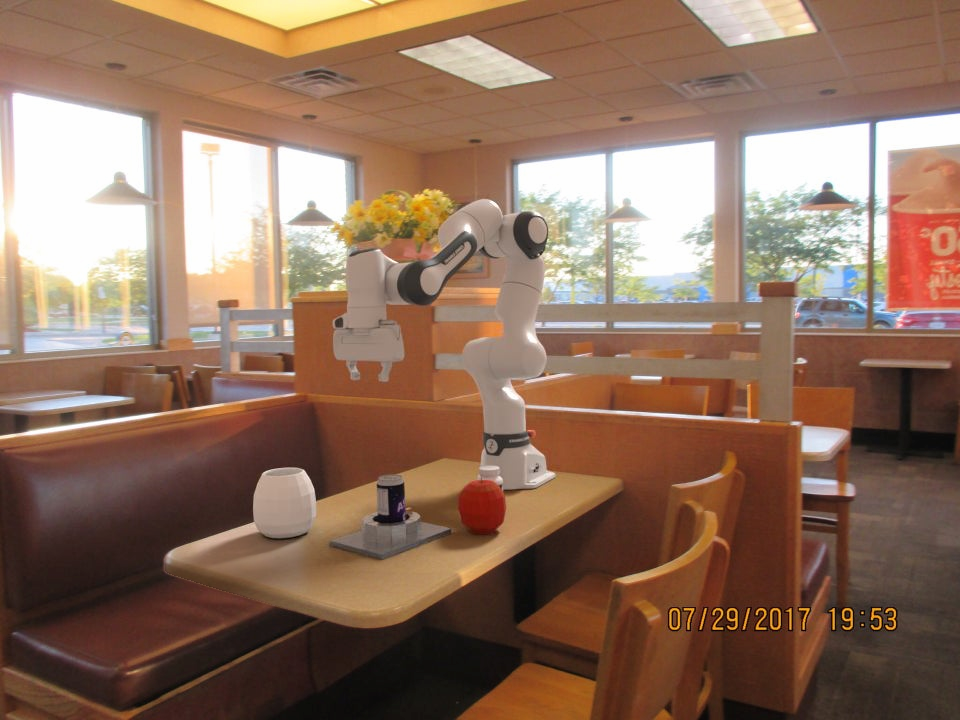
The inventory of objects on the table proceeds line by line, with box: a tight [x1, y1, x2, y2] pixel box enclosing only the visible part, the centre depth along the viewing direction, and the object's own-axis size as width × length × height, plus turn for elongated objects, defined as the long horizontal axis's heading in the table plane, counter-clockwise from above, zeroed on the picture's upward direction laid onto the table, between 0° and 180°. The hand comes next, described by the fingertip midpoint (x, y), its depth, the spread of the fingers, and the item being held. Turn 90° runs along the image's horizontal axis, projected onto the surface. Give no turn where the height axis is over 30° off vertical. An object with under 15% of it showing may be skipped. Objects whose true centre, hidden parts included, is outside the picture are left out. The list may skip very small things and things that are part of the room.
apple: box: [457, 478, 507, 535], centre depth 159 cm, size 10×10×12 cm
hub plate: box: [329, 507, 452, 561], centre depth 155 cm, size 20×15×5 cm
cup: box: [252, 467, 317, 539], centre depth 161 cm, size 13×13×14 cm
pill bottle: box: [475, 466, 504, 492], centre depth 171 cm, size 6×6×11 cm
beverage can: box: [376, 474, 406, 523], centre depth 155 cm, size 6×6×12 cm
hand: (369, 380), depth 172 cm, fingers open, 8 cm apart
